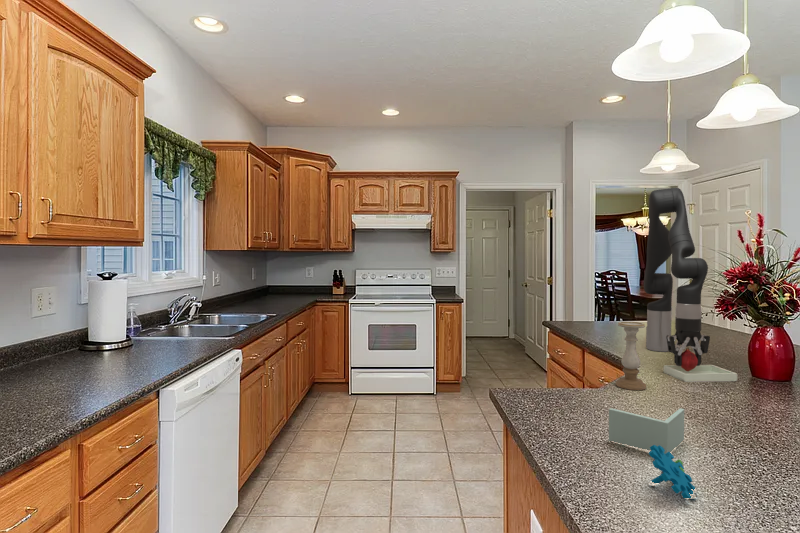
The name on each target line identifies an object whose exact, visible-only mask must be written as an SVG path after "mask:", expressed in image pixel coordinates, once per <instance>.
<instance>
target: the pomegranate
mask: <svg viewBox="0 0 800 533" xmlns="http://www.w3.org/2000/svg"><path fill="white" fill-rule="evenodd" d="M692 352H693V351H691V350H690V348H689V347H685V349H684V350H683V351H682V353H681V356H682V365H681V367H682V368H683V369H684V370H685V371H690V370H692V369H694V368H695V367H696V366H697V364H698V359H697V357H696V355H695V354H694V353H692Z"/></svg>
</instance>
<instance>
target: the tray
mask: <svg viewBox="0 0 800 533" xmlns="http://www.w3.org/2000/svg"><path fill="white" fill-rule="evenodd" d="M663 373H664V374H666V375H668V376H669V377H670V376H671V377H673V378H675V379H678V380H680V381H682V382H685V383H689V382H691V383H692V382H695V383H696V382H697V383H698V382H701V383H702V382H738V373H736V372H733V371H730V370H728V369H725V368H722V367H720V366H717V365H714V364H700V366H696V367H695V368H694V369H692V370H690V371H685V370H684V369H683V368H682V367H681V366H677V365H676V364H674V365H673V364H670V365H668V364H667V365H665V364H664V365H663Z"/></svg>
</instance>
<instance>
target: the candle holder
mask: <svg viewBox="0 0 800 533" xmlns="http://www.w3.org/2000/svg"><path fill="white" fill-rule="evenodd" d="M617 326H618V327H621V328H623V331H624V332H625V335H626V336H625V337H624V341H625V343H626V344H625V345H626V346H625V350H624V354H623V355H622V357H621V364H622V366H623V368H622V372H623V374H624V376H621V377H619V378H618V379H617V380H615V386H616V387H618V388H620V389H625V390H631V391H643V390H645V389H647V384H646V383H644V382H643V380H642V379H640V378H638V375H639V374H638V373H640V370H639V369H638V368H639V367H640V366H641V359H640V357H639V355H638V351H637V342H638V341H639V339H638V338H637V334H638V332H640V330H639V329H643V328H645V327H646V325H645V323H643V322H639V321H620V322H619V321H618V323H617Z"/></svg>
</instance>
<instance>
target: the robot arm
mask: <svg viewBox="0 0 800 533" xmlns="http://www.w3.org/2000/svg"><path fill="white" fill-rule="evenodd" d="M685 201H686V199H685V196H684V192H683V191H682V189H680V188H679V187H670V188H661V189H655V190H652V191H651V192H650V194H649V198H648V212H649V213H648V216H649V217H648V218H649V219H648V222H649V223H648V232H647V233H648V234H647V243H646V246H647V247H646V265H645V271H644V278H643V289H644V293H645V294H648V295H659V296H660V295H662V297H660V298H659V299H658V300H654V301H649V302H648V303H647V304H646V308H647V310H646V311H647V312H646V314H647V315H646V316H647V317H646V326H645V327H646V328H645V348H646V349H647V350H649V351H654V352H661V353H662V352H666V353H667V352H668V353H672V354H673V355H674V357H673V358H674V359H673V360H674V361H673V362H674V365H677V366H681V365H682V356H681V353H682V352H684V351H685V350H686V348H689V347H691V349H692V352H694V353H695V355H696V357H697V359H698V364H697V366H700V365H702V355H703V354H707V353H708V352H709V346H710V341H711V337H710V335H707V334H702V333H701V331H702V312H703V311H702V310H703V309H702V290H703V286H704V283H705V280H706V278H707V275H708V271H709V266H708V263H707V261H706V260H705V259H704V258H700V257H691V256H693V255H694V254H695V252H696V247H695V243H694V240H693V238H692V235H691V232H690V227H689V218H688V213H687V206H686V202H685ZM671 213H672V214H673V213H675V215H676V216H675V219H674V222H673V223H672V225H671V227H670V229H668V228H667V227H666V226H665V225H664V224H663V222H662V220H661V218H660V215H662V214H671ZM670 257H671V263H670V264H671V267H670V272H671V273H667V272H665V273H664V272H661V273H660V272H657V270H658V269H659V268H660V266H662V265H663V264H664V263H665V262H666V261H668V260H669V258H670ZM673 277H674V278H676V279H681V280H682V279H685V280H687V279H689V280H690V279H691V281H690V282H689V283H688V284H684V285H680V286H678V287H677V288H676V305H675V306H676V307H675V319H674V320H675V323H674V324H675V326H674V328H675V333H674V334H672V321H673V320H672V311H673V309H672V308H673V307H672V306H673V305H672V304H673V303H672V302H673V301H672V300H673V288H674V287H673V286H674V279H673ZM699 341H700V342H699Z"/></svg>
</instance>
